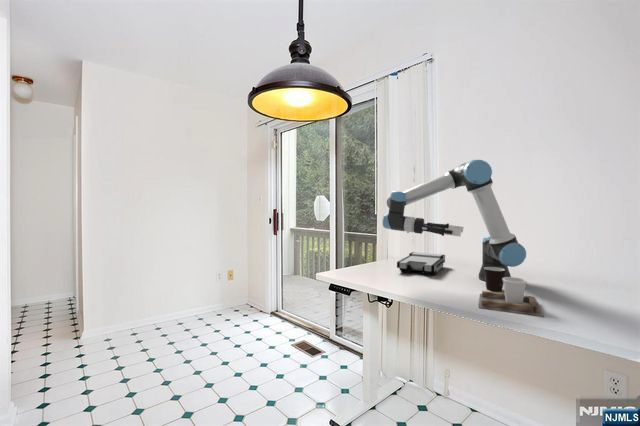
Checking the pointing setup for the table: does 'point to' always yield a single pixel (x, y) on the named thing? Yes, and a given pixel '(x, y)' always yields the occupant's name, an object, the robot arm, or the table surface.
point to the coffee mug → (494, 278)
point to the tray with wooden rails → (509, 304)
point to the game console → (422, 263)
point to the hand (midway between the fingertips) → (462, 231)
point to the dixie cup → (514, 289)
